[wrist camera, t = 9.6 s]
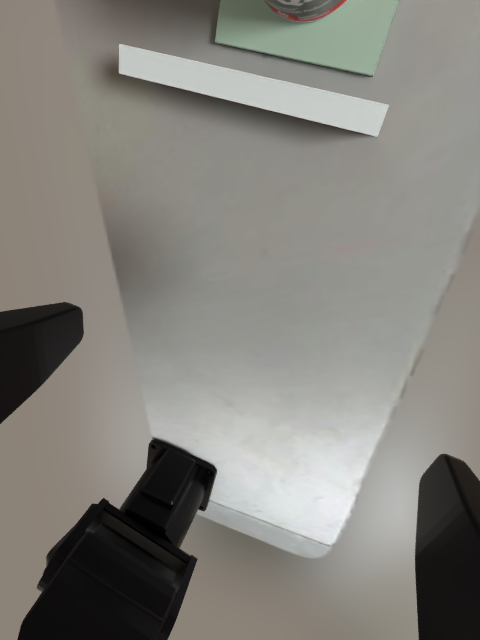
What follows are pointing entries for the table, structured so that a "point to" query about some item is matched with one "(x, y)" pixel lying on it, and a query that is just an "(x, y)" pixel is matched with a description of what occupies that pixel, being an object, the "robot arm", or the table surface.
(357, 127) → the acrylic wall
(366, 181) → the table surface
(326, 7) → the pill bottle
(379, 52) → the coaster
